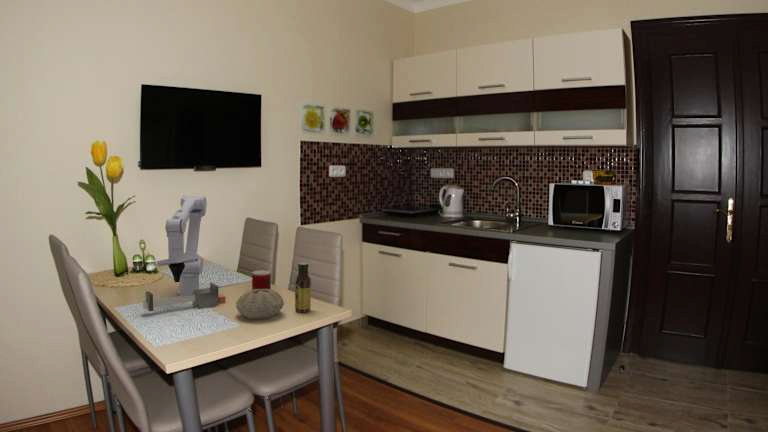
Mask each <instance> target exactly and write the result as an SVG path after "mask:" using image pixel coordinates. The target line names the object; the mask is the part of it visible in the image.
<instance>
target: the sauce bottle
mask: <svg viewBox="0 0 768 432" xmlns="http://www.w3.org/2000/svg"><path fill="white" fill-rule="evenodd" d="M297 267H298V274H297V276H296V279H295V282H294V307H295V312H296V313H299V314H300V313H301V314H302V313H303V314H304V313H305V314H307V313H309V312H310V311H311V307H312V306H311V305H312V304H311V303H312V301H311V299H312V295H311V293H312V284H311V283H312V282H311V277H310V275H309V262H306V261H305V262H304V261H302V262H301V261H300V262H298V263H297Z"/></svg>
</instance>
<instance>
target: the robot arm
mask: <svg viewBox="0 0 768 432" xmlns="http://www.w3.org/2000/svg"><path fill="white" fill-rule="evenodd" d="M207 205H208V202H207V198H206V196H205V195H184V194H183V195H182V197H181V199H180V208H179V209H177V210H176V211H175V213H174V214H173V216H172V217H171V218H168V219H167V220H166V222H165V227H164V228H165V232H166V237H167V241H168V243H167V245H168V246H167V247H168V249H167V250H168V258H167V259H161V260H160V259H159V260H156V266H157V267H162V266H163V267H164V266H167V267H168V268H169V270H170V272H171V274H172V276H173V281H174V283H178V284H179V285H178V287H179V291H177V294H178V296H182V295H189V294H193V290H198V289H200V275H201V274H202V273H203V270H204V260H203V257H202V255H200V254H199V253H198V247H199V239H200V229H201V222H202V221H201V220H202V218H203V217H205V216H206V213H207ZM187 223H188V229H187V236H186V246H185V241H184V239H185V238H184V237H185V235H184V234H185V232H186V228H187Z"/></svg>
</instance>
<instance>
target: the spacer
mask: <svg viewBox="0 0 768 432" xmlns="http://www.w3.org/2000/svg"><path fill="white" fill-rule="evenodd" d="M218 295H219V305H222V304H226V303H227V302H226V295H223V294H222V293H219V294H218Z"/></svg>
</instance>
